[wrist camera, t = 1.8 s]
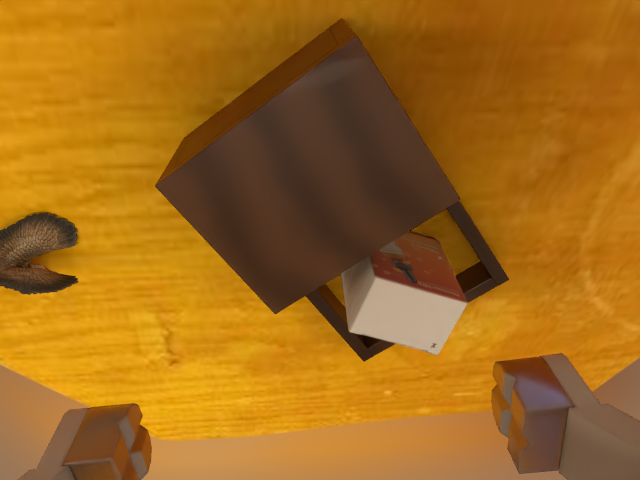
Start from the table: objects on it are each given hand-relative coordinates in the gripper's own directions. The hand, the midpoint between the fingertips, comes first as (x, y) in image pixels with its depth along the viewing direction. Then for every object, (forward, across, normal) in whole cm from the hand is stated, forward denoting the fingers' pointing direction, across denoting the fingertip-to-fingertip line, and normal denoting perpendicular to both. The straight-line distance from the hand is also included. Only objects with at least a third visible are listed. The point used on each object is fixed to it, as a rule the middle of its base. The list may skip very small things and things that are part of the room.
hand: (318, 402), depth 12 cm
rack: (+34, -4, +11) cm, 36 cm away
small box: (+35, -7, +16) cm, 39 cm away
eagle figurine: (+35, +26, +12) cm, 45 cm away
